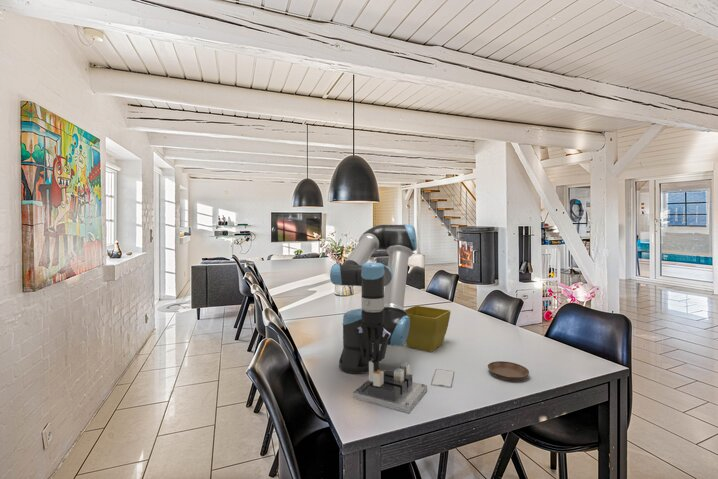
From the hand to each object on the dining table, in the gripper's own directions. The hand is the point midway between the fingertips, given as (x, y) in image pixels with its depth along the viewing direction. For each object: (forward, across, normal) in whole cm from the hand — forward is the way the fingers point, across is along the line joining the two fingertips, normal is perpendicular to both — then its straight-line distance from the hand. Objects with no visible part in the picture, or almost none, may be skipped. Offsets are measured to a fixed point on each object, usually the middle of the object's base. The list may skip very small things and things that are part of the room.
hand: (372, 379), depth 120 cm
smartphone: (+7, +16, +28) cm, 32 cm away
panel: (+7, +4, +6) cm, 10 cm away
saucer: (+7, +36, +43) cm, 57 cm away
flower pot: (+6, -3, +58) cm, 59 cm away
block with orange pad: (+1, +2, 0) cm, 2 cm away
